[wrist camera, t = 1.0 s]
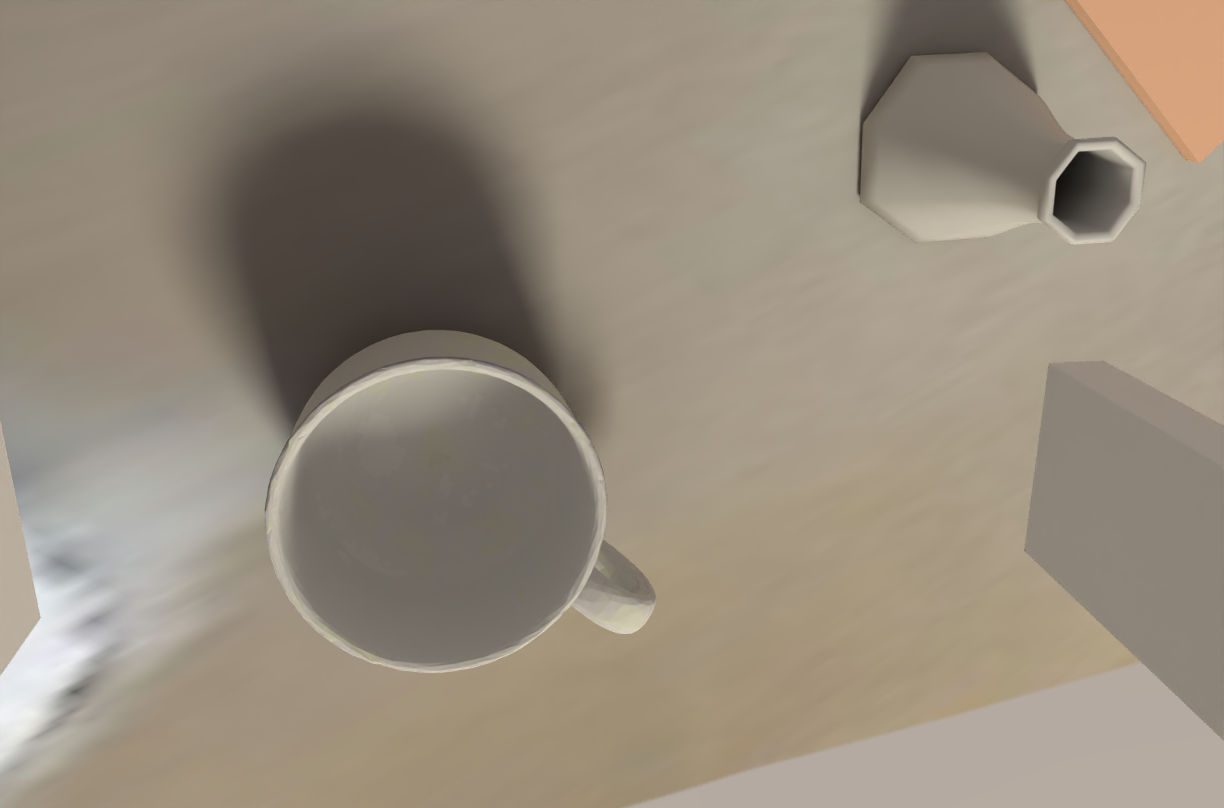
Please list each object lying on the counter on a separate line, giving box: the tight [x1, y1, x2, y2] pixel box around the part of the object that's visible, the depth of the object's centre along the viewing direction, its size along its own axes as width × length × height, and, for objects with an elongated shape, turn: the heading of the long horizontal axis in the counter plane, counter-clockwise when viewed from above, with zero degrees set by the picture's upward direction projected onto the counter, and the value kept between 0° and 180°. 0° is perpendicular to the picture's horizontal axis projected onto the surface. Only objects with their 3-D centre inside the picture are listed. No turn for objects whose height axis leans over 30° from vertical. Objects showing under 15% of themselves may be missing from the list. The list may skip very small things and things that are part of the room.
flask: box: [860, 52, 1146, 245], centre depth 37 cm, size 7×7×10 cm
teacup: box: [265, 330, 656, 673], centre depth 39 cm, size 14×11×8 cm
